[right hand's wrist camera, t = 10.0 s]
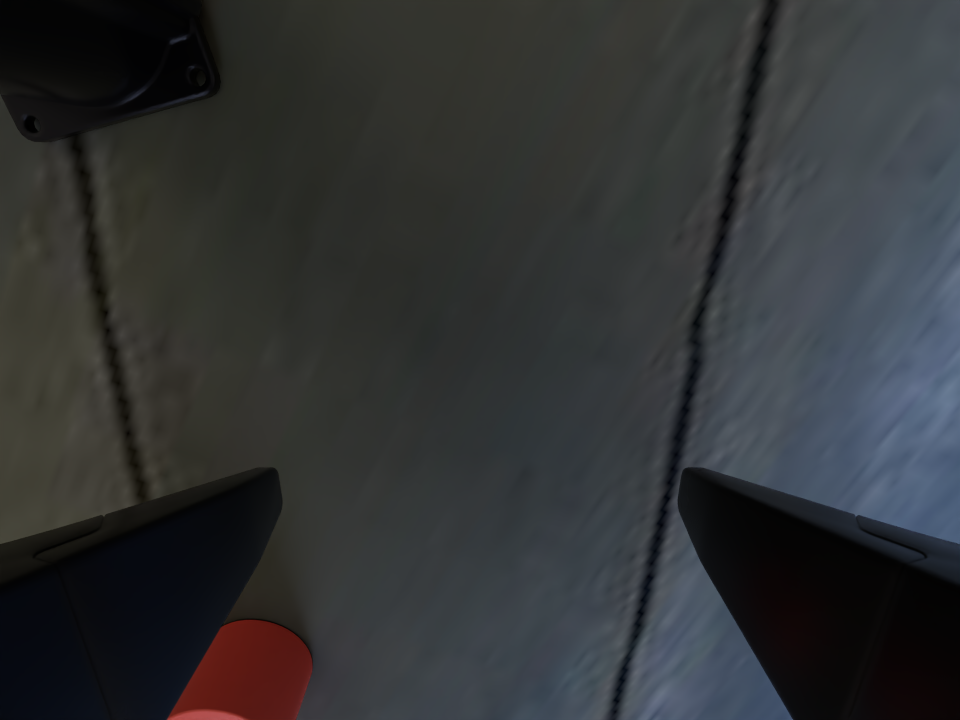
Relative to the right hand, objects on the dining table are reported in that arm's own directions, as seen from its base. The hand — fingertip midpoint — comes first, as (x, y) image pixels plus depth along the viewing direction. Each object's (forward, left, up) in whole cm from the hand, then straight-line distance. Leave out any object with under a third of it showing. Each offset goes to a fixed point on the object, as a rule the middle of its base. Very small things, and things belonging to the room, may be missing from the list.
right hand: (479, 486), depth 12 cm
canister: (-14, -12, -8) cm, 20 cm away
